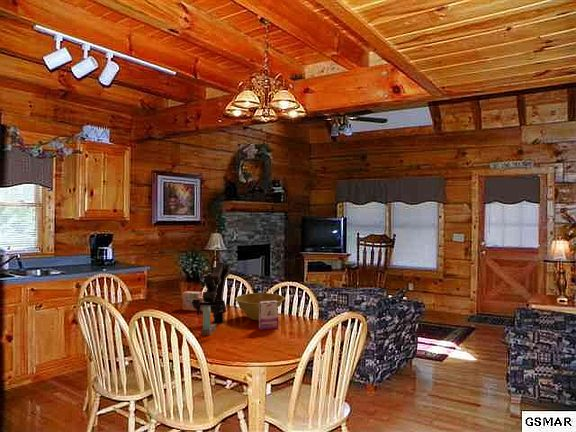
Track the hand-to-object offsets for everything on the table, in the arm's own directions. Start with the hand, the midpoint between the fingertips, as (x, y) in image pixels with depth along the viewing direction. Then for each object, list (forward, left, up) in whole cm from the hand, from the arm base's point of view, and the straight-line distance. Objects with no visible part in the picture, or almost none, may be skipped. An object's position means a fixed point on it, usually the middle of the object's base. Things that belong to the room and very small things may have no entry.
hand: (205, 316), depth 262 cm
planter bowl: (-43, +23, -11) cm, 50 cm away
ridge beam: (-6, 0, -10) cm, 12 cm away
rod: (-1, 0, -7) cm, 8 cm away
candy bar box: (-19, +33, -11) cm, 40 cm away
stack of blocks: (-59, -25, -11) cm, 65 cm away
